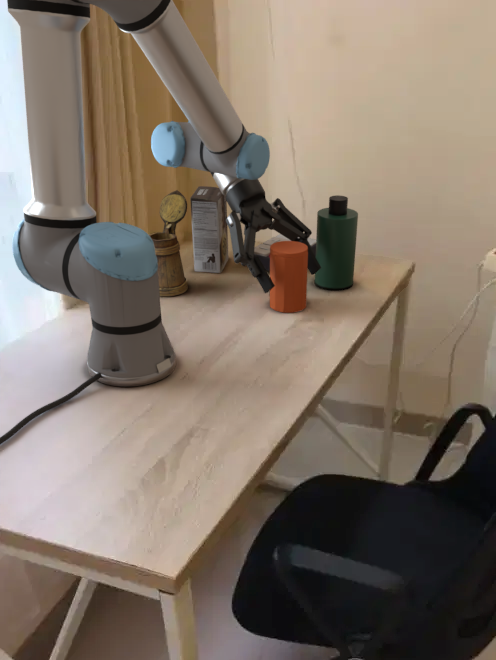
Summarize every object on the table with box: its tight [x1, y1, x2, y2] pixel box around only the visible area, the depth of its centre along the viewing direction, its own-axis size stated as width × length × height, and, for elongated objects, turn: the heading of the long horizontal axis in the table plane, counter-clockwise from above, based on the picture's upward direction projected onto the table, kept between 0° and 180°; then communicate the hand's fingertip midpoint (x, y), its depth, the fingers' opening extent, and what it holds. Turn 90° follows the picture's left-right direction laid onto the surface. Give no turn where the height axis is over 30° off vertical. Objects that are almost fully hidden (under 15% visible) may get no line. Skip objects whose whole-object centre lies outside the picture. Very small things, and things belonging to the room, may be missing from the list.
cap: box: [269, 241, 308, 314], centre depth 150 cm, size 7×7×12 cm
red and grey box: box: [253, 233, 316, 272], centre depth 173 cm, size 11×4×15 cm
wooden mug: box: [148, 189, 189, 297], centre depth 156 cm, size 9×14×18 cm, turn 163°
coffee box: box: [189, 185, 230, 274], centre depth 166 cm, size 9×6×16 cm
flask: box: [313, 194, 359, 292], centre depth 158 cm, size 9×9×18 cm
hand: (293, 280), depth 149 cm, fingers open, 13 cm apart
